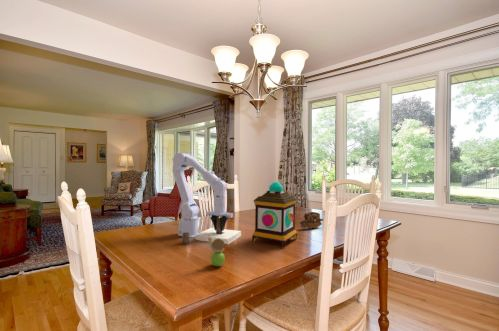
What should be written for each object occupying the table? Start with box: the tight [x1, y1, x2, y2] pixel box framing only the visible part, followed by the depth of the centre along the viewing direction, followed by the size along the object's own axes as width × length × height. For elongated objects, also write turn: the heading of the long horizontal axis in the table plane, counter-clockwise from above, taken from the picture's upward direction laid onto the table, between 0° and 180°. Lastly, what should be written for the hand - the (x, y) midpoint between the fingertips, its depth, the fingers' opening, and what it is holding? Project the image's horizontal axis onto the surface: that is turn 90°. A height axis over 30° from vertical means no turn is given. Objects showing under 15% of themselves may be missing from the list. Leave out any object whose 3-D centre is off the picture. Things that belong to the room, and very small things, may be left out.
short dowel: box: [182, 232, 190, 246], centre depth 125 cm, size 3×3×5 cm
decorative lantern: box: [251, 180, 298, 249], centre depth 132 cm, size 20×20×30 cm
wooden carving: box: [299, 211, 324, 229], centre depth 158 cm, size 16×5×10 cm, turn 120°
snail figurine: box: [208, 234, 226, 267], centre depth 99 cm, size 5×6×12 cm
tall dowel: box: [216, 217, 222, 234], centre depth 136 cm, size 3×3×9 cm
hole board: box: [195, 227, 242, 245], centre depth 136 cm, size 18×16×2 cm
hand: (219, 230), depth 136 cm, fingers closed on tall dowel, 3 cm apart
